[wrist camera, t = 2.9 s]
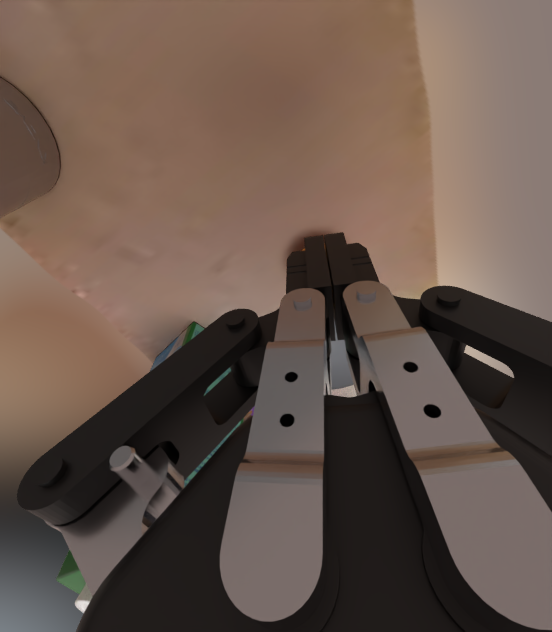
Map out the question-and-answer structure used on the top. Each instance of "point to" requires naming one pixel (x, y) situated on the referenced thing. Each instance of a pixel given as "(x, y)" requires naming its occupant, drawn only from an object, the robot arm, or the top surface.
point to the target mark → (339, 365)
